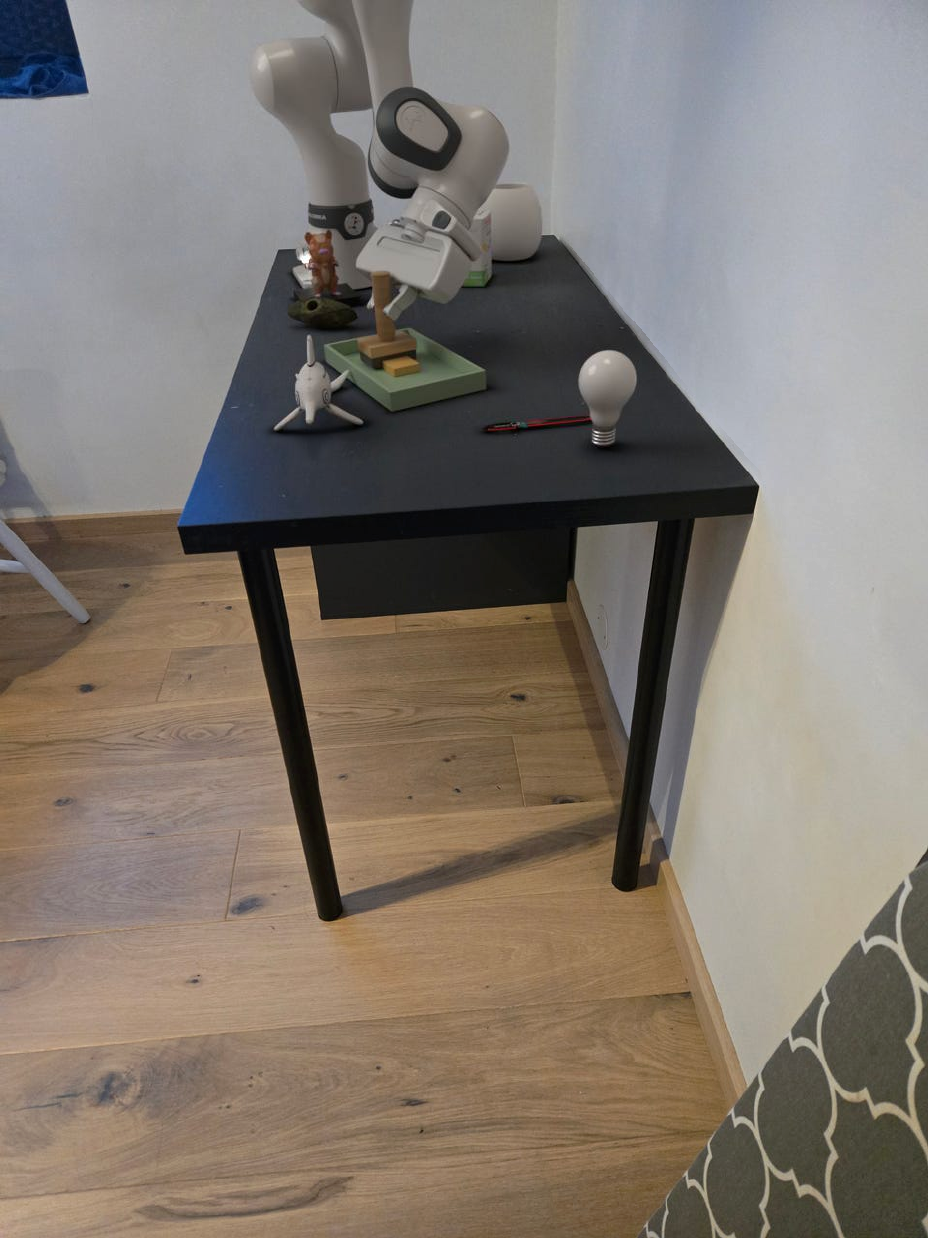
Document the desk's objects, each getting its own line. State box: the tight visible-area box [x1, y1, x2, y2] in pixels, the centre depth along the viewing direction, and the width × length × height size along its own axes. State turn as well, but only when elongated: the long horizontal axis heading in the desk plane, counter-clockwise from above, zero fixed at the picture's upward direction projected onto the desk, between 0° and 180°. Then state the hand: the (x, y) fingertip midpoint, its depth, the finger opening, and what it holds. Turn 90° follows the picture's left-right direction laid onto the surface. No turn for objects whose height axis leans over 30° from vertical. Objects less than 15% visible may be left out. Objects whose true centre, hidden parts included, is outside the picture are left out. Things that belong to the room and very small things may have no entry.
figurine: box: [292, 230, 361, 308], centre depth 145 cm, size 10×10×12 cm
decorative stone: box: [287, 296, 359, 330], centre depth 135 cm, size 11×8×5 cm
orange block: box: [382, 356, 420, 377], centre depth 116 cm, size 4×4×1 cm
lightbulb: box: [577, 349, 638, 449], centre depth 92 cm, size 6×6×11 cm
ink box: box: [461, 209, 493, 288], centre depth 152 cm, size 9×5×15 cm, turn 168°
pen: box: [481, 414, 591, 432], centre depth 100 cm, size 2×14×1 cm, turn 100°
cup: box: [478, 181, 543, 262], centre depth 167 cm, size 13×13×14 cm
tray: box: [323, 327, 487, 413], centre depth 116 cm, size 23×14×3 cm, turn 29°
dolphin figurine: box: [273, 334, 364, 432], centre depth 102 cm, size 11×25×11 cm, turn 6°
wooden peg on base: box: [357, 271, 417, 369], centre depth 116 cm, size 5×7×12 cm, turn 119°
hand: (380, 314), depth 115 cm, fingers closed on wooden peg on base, 2 cm apart
